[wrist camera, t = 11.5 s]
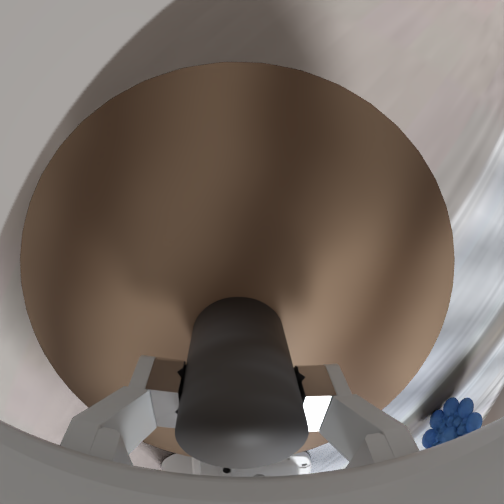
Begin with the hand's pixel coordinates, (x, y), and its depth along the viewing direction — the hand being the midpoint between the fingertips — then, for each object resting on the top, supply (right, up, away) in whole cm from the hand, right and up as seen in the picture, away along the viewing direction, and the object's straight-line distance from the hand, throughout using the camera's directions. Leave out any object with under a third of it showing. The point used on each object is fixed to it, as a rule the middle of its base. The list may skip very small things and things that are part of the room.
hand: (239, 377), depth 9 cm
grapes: (+30, -21, +26) cm, 44 cm away
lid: (0, +1, +3) cm, 3 cm away
